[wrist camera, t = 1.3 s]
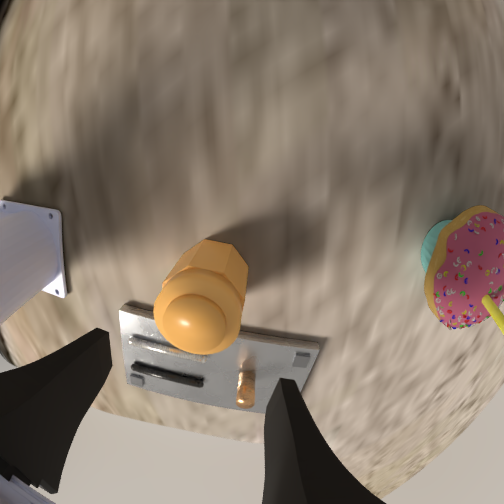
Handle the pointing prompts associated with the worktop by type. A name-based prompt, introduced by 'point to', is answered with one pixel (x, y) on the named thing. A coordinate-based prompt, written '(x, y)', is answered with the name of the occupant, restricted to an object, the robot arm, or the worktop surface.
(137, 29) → the worktop surface
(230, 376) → the plate
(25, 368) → the robot arm
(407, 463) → the worktop surface
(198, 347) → the acorn cap nut
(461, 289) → the cupcake
